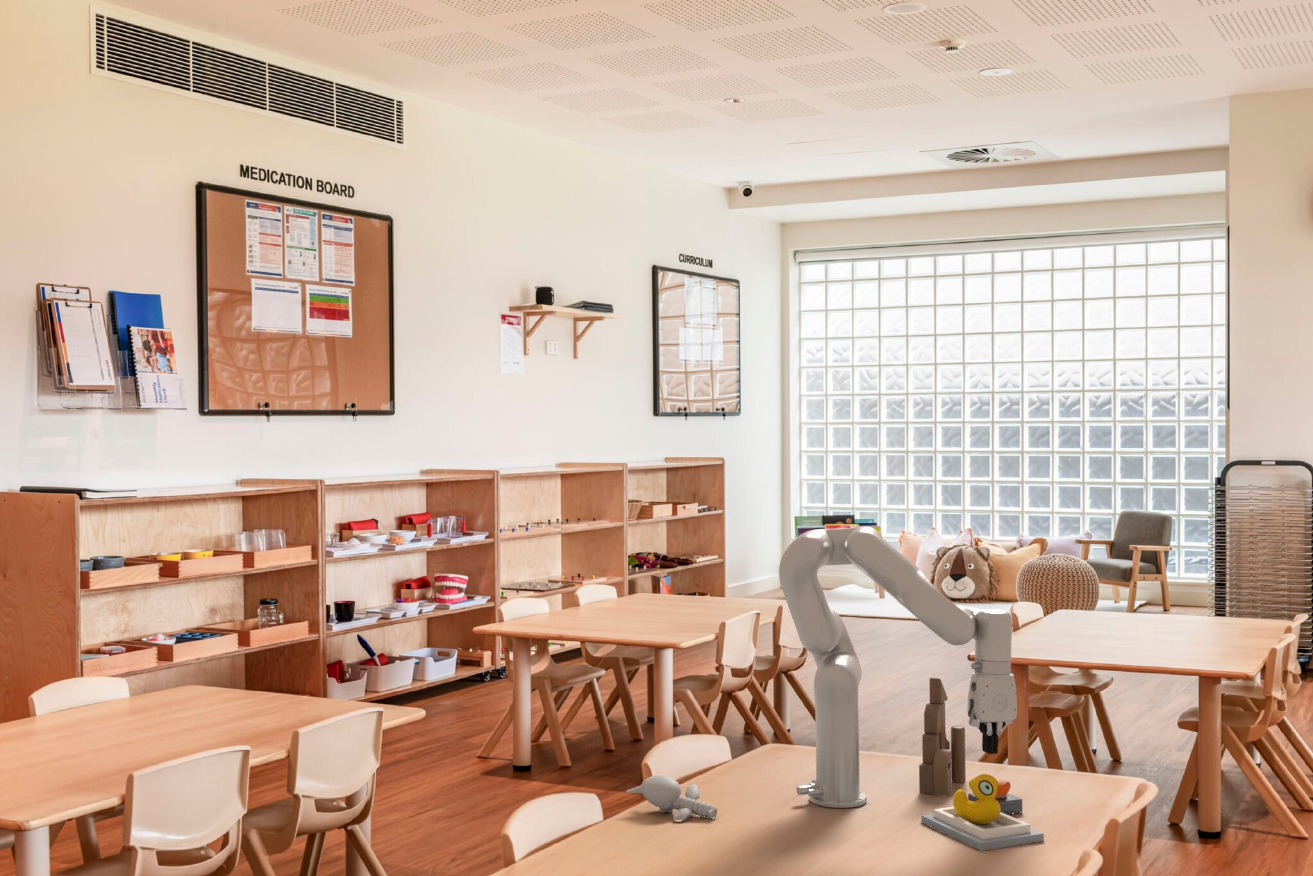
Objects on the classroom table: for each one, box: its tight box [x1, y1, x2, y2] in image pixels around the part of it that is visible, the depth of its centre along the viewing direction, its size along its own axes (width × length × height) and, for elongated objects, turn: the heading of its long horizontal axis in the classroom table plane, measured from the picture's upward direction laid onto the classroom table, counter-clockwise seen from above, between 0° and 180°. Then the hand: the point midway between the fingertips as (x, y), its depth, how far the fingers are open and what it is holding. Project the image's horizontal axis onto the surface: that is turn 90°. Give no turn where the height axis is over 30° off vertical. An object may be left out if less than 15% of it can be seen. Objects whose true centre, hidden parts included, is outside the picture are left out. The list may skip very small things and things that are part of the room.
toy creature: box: [625, 774, 718, 821], centre depth 265 cm, size 13×7×20 cm
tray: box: [920, 806, 1045, 852], centre depth 251 cm, size 15×20×3 cm
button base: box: [967, 792, 1023, 815], centre depth 266 cm, size 8×8×3 cm
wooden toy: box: [918, 677, 966, 797], centre depth 285 cm, size 16×7×25 cm, turn 150°
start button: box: [995, 778, 1008, 799], centre depth 266 cm, size 5×5×3 cm
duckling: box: [952, 773, 1011, 824], centre depth 252 cm, size 11×5×10 cm, turn 70°
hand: (989, 752), depth 266 cm, fingers closed
